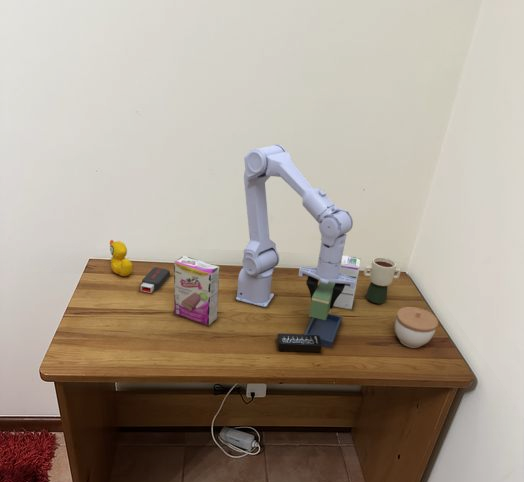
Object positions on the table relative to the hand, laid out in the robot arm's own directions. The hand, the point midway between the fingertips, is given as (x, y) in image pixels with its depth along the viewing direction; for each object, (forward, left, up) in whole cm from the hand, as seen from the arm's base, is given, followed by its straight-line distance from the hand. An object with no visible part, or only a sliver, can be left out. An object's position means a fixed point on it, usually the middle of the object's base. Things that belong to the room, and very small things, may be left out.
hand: (322, 304), depth 129 cm
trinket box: (+25, +6, -8) cm, 27 cm away
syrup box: (+4, +17, -8) cm, 20 cm away
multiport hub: (-3, -10, -8) cm, 13 cm away
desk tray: (+1, 0, -8) cm, 8 cm away
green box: (0, 0, -1) cm, 1 cm away
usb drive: (-52, +2, -8) cm, 52 cm away
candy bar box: (-33, -9, -8) cm, 35 cm away
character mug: (+13, +24, -8) cm, 29 cm away
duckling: (-63, +3, -8) cm, 64 cm away
